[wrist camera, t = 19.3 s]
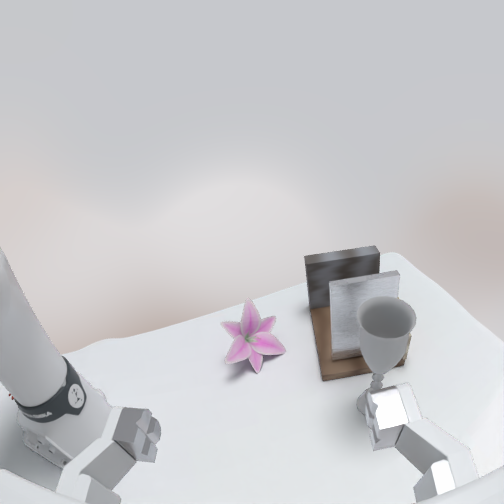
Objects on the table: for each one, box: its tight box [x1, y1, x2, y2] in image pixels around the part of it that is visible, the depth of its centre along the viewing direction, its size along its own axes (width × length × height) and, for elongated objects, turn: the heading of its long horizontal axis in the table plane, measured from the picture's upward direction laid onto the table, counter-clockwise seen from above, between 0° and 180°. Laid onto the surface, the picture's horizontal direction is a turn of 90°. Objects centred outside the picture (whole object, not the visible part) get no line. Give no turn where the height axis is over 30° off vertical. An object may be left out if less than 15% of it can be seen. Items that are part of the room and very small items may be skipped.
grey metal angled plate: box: [329, 270, 400, 360], centre depth 47 cm, size 11×9×15 cm
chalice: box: [357, 296, 416, 416], centre depth 36 cm, size 7×7×18 cm
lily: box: [221, 298, 286, 374], centre depth 53 cm, size 12×12×10 cm
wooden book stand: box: [304, 246, 411, 381], centre depth 52 cm, size 14×20×12 cm
